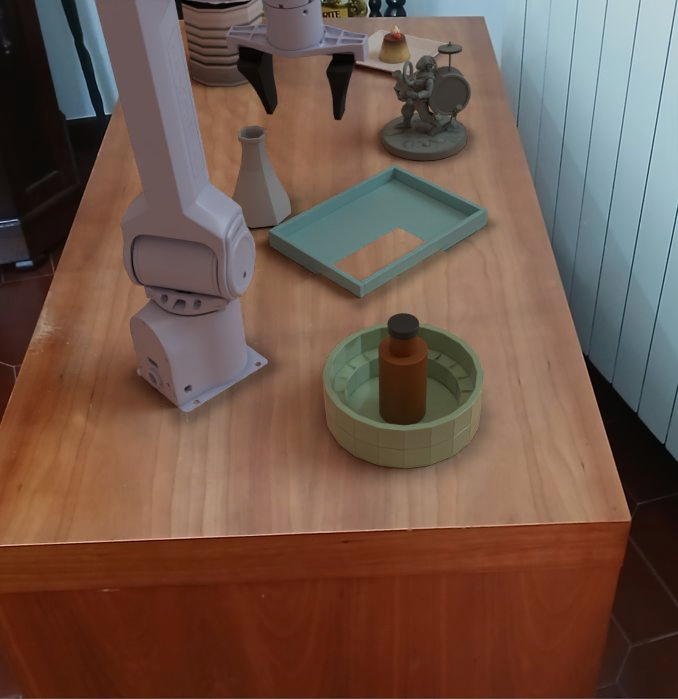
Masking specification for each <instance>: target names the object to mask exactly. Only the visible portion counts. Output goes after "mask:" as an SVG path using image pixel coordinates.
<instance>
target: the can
mask: <svg viewBox="0 0 678 699" xmlns="http://www.w3.org/2000/svg"><path fill="white" fill-rule="evenodd" d="M180 2H181V10H182V15H183V16H182V17H183V22H184V28H185V37H186V42H187V49H188V55H189V56H188V57H189V62H190V68H191V74H192V75H191V76H192V80H193V81H196V82H197V83H200V84H202V85H205V86H207V87H223V88H224V87H225V88H227V87H228V88H233V87H237V86H241V85H246V84H248V83H249V84H250V82H249V81H248V80H247V79H246V78H245V77H244V76H243V75H242V74H241V73H240V72H239V71H238V68H237V64H236V63H237V61H238V59H239V52H238V53H230V52H229V51H228V46H227V41H226V35H227V33H228V31H229V30H230V28H231V26H250V25H257V24H263V16H262V4H261V3H262V2H261V0H180Z"/></svg>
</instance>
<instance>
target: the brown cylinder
mask: <svg viewBox="0 0 678 699" xmlns="http://www.w3.org/2000/svg"><path fill="white" fill-rule="evenodd" d="M386 323H387V330H388V333H389V336H388V337H386V338H384V339H383V340H382V341H381V343H380V344H379V347H378V362H379V412H380V415H381V417H382V418H383V419H384V420H385V421H386V422H387V423H389V424H396V425H412V424H416V423H418V422H420V421H421V420H422V419H423V418H424V416H425V413H426V393H427V362H428V347H427V344H426V342H425V341H424V340H423V339H422V338H420V337H418V336H417V334H418V332H419V323H420V320H419V319H418V317H417V316H415V315H413V314H410V313H406V312H401V313H395V314H394V315H391V316H390V317H389V318H388V320H387V322H386Z"/></svg>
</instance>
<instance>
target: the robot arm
mask: <svg viewBox="0 0 678 699" xmlns="http://www.w3.org/2000/svg"><path fill="white" fill-rule="evenodd" d="M261 3H262V4H261V5H262V10H263V16H264V21H265V22H264V23H262V24H257V25H250V26H231V28H230V30H229V31H228V33H227V35H226V41H227V46H228V51H229V52H230V53H238V52H239V59H238V61H237V63H236V64H237V68H238V71H239V72H240V73H241V74H242V75H243V76H244V77H245V78H246V79H247V80H248V81H249V84H250V85H251V87H252V88H253V89H254V91H255V93H256V95H257V96H258V98H259V100H260V102H261V104H262V106H263V108H264V111H265V114H266V115H271V116H273V115H274V112H275V111H276V108H277V107H278V104H279V103H278V102H279V101H278V100H279V99H278V91H277V86H276V80H275V74H274V73H275V72H274V61H273V59H274V58H273V56H277V57H280V58H284V59H301V58H309V57H316V56H330V57H332V58H331V60H330V62H329V63H328V66H327V67H326V70H325V75H326V78H327V80H328V83H329V88H330V93H331V98H332V99H331V100H332V114H333V120H334V121H342V119H343V116H344V114H345V111H346V102H347V96H348V89H349V85H350V81H351V78H352V75H353V71H354V69H355V66H356V65H355V63H356V61H362V62H364V61H365V59H366V57H367V54H368V52H369V47H368V37H369V35H368V34H367V33H360V32H353V31H349V30H346V29H342V28H339V27H336V26H332V25H328V24H325V23H324V19H323V11H322V9H323V8H322V1H321V0H261ZM94 4H95V9H96V12H97V15H98V21H99V24H100V27H101V32H102V35H103V39H104V43H105V47H106V50H107V54H108V58H109V62H110V66H111V70H112V71H111V72H112V74H113V79H114V82H115V85H116V86H115V87H116V90H117V94H118V99H119V101H120V105H121V110H122V113H123V117H124V121H125V125H126V129H127V132H128V133H127V134H128V136H129V140H130V144H131V147H132V152H133V157H134V160H135V163H136V167H137V172H138V175H139V180H140V183H141V187H142V192H140V193H139V194H137V196H135V197H134V199H132V201H131V202H130V203H129V205H128V207H127V208H126V209H125V212H124V214H123V216H122V219H121V221H120V225H119V226H120V228H121V232H122V241H123V242H122V243H123V246H122V261H123V262H122V263H123V265H124V269H125V272H126V275H127V276H128V278H129V280H130V281H131V282H132V283H133V284H134V285H136V286H139V287H143V288H144V293H145V297H146V298H147V299H149V300H148V302H147V303H146V304H145V305H144V306H143V307H142V308H141V309H140V310H138V311H137V312H136V313H135V314H133V315H132V316H131V317H130V319H129V331H130V336H131V339H132V343H133V347H134V352H135V356H136V360H137V364H138V368H137V369H136V374H137V376H138V377H142V378H143V379H144V380H145V381H146V382H148V384H150V385H151V387H154V388H155V389H156V390H157V391H158V392H159V393H161V395H162V396H164V397H165V398H166V399H167V400H168V401H169V402H171V403H172V404H173V405H174V406H176V407H177V408H178V409H179V410H180V411H182V413H189V412H191V411H194V410H195V409H196V408H198V407H199V406H202V405H203V404H204V403H207V402H208V401H209V400H211V399H213V398H215V397H216V396H218V395H219V394H221V393H222V392H224V391H225V390H227V389H229V388H230V387H232V386H234V385H235V384H237V383H239V382H240V381H242V380H244V379H245V378H246V377H248V376H249V375H251V374H252V373H255V372H256V371H258V370H259V369H261V368H263V367H264V366H266V365H267V364H268V362H269V361H268V359H267V358H265V357H264V356H263V355H261V354H260V353H259V352H258V351H256V350H255V349H253V348H252V347H251V346H249V345H248V344H247V341H246V333H245V327H244V319H243V310H242V305H241V298H240V297H241V296H242V295H243V294H245V292H246V291H247V290H248V288H249V286H250V284H251V281H252V278H253V276H254V272H255V265H256V242H255V239H254V237H253V234H252V233H251V231H250V229H249V227H248V226H246V223H245V220H244V216H243V213H242V208H241V206H240V205H239V204H237V203H236V202H235V201H233V200H232V198H231V197H230V196H228V195H227V194H226V193H224V192H223V191H221V190H220V189H219V188H218V187H216V185H214V184H213V183H211V181H210V175H209V169H208V165H207V160H206V155H205V154H206V153H205V150H204V145H203V139H202V134H201V129H200V124H199V119H198V113H197V109H196V104H195V98H194V92H193V88H192V87H193V86H192V83H191V82H192V81H191V77H190V71H189V67H188V62H187V57H186V52H185V46H184V40H183V36H182V31H181V25H180V21H179V14H178V10H177V5H176V4H177V3H176V1H175V0H94ZM256 364H259V365H256ZM196 401H198V403H194V402H196Z"/></svg>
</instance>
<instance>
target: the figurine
mask: <svg viewBox="0 0 678 699" xmlns="http://www.w3.org/2000/svg"><path fill="white" fill-rule="evenodd" d="M448 43H449V44H445V45H441V46H439V47H438V52H439V53H438V54H442V55H448V65H443V66H439V67H438V64H437V61H436V60H435V58H434V57H432V56H430V55H424V56H422V57H421V58H420V59H419V61H418V62H417V64H416V69H417V71H416V72H415V73H413V64H412V62H411V61H406V62H405V64H404V66H403V75H402V72H401V70H396V71H394V72H393V73H391V78H392V79H394V80H395V81H396V83H395V85H394V86H393V91H394V92H395V95H396V98H397V100H398V101H400V102H402V103H404V104H403V105H402V106H401V109H400V113H401V116H398V117H396V118H394V119H392V120H390V121H388V122H387V123H386V124H385V125H384V126H383V127H382V130H381V143H382V145H383V147H384V149H385V150H386V151H388V152H389V153H390V154H392V155H395V156H396V157H399V158H403V159H406V160H412V161H413V160H414V161H436V160H442V159H445V158H449V157H451V156H454V155H457V154H458V153H460V152H461V151H462V150H463V149H464V147H465V146H466V144H467V135H468V132H467V128H466V127H465V126H464V124H463V123H462V122H460V121H459V120H458V119H457V116H458V114H459V113H461V112H462V111H464V109H466V107H467V106H468V104H469V103H470V100H471V97H472V88H471V85H470V83H469V81H468V80H467V79H466V77H465V76H464V75H463V73H462V71H460V70H459V69H458V68H456V67H454V66H452V55H457V54H460V53H462V52H463V46H462V45H460V44H456V43H452V41H448ZM408 65H409V68H410V73H409V76H407V73H406V72H407V66H408ZM430 110H431V111H430ZM415 112H416V113H415Z"/></svg>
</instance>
